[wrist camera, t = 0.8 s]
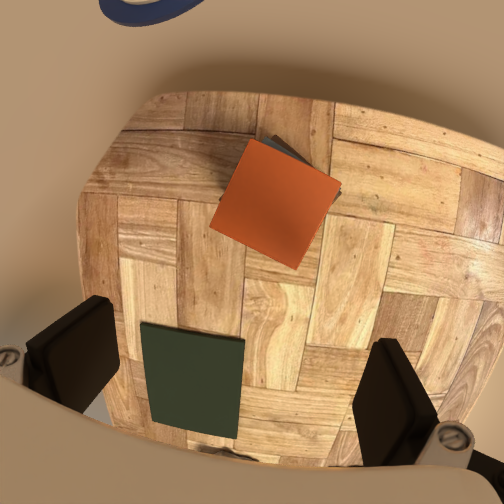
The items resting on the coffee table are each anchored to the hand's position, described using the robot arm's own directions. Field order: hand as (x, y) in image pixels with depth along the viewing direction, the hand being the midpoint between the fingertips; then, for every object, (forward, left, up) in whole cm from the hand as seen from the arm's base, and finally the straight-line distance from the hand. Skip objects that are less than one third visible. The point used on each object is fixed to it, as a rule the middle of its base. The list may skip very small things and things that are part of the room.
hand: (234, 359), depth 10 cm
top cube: (-3, +3, -11) cm, 12 cm away
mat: (+10, -18, -19) cm, 28 cm away
